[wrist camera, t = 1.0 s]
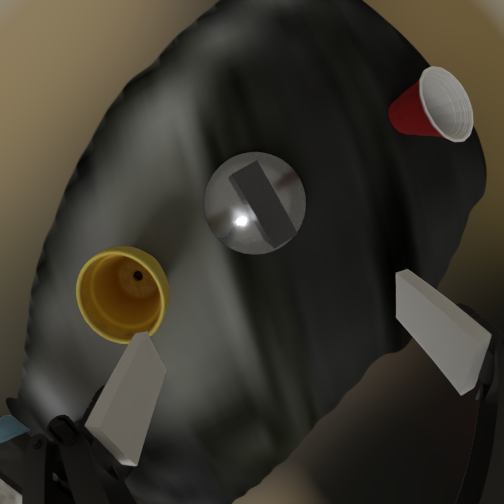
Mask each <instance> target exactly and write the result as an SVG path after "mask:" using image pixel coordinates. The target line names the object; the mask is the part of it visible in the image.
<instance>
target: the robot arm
mask: <svg viewBox="0 0 504 504" xmlns="http://www.w3.org/2000/svg"><path fill="white" fill-rule="evenodd" d="M396 318H397V319H398V320H399V322H400V323H401V324H402V325H403V326H404V327H405V328H406V329H407V331H408V332H409V333H410V334H411V335H412V336H413V337H414V339H415V340H416V341H417V342H418V343H419V344H420V345H421V347H422V348H423V349H424V350H425V351H426V353H427V354H428V355H429V356H430V357H431V359H432V360H433V361H434V362H435V363H436V365H437V366H438V367H439V368H440V370H441V371H442V372H443V373H444V374H445V375H446V377H447V378H448V379H449V381H450V382H451V383H452V384H453V386H454V387H455V388H456V389H457V391H458V392H459V393H460V395H463V394H464V393H466V392H468V391H469V390H471V389H473V388H474V387H475V384H476V382H477V379H478V377H479V378H480V379H481V380H482V385H481V387H480V389H479V392H478V394H477V397H476V400H478V398H479V396H480V399H479V408H478V416H477V422H476V429H475V434H474V439H473V445H472V449H471V454H470V458H469V462H468V466H467V469H466V473H465V476H464V480H463V483H462V486H461V489H460V492H459V495H458V498H457V501H456V504H504V332H500V331H499V330H498V329H497V328H495V327H494V326H493V325H492V324H491V323H489V322H488V321H487V320H486V319H484V318H482V317H481V316H480V315H479V314H478V313H476V311H474V310H473V309H472V308H470V307H469V306H466V305H464V304H461V303H458V304H456V305H455V304H454V303H452V302H451V301H450V300H449V299H447V298H446V297H445V296H443V295H442V294H441V293H439V292H438V291H437V290H436V289H434V288H433V287H432V286H430V285H429V284H427V283H426V282H425V281H423V280H422V279H421V278H419V277H418V276H417V275H415V274H414V273H412V272H411V271H410V270H408V269H407V270H404V271H401V272H397V273H396ZM166 372H167V369H166V368H165V366H164V364H163V362H162V360H161V358H160V356H159V354H158V352H157V350H156V348H155V346H154V344H153V342H152V340H151V338H150V336H149V334H148V332H140V333H135V335H134V336H133V338H132V340H131V341H130V343H129V345H128V346H127V348H126V350H125V352H124V353H123V355H122V357H121V359H120V360H119V362H118V364H117V366H116V367H115V369H114V371H113V373H112V375H111V376H110V378H109V380H108V382H107V384H106V386H102V387H101V388H100V389H99V390H98V391H97V392H96V393H95V395H94V397H93V399H92V402H91V403H90V404H89V406H88V407H89V408H87V410H86V412H85V414H84V416H83V417H82V419H81V421H79V422H77V423H75V424H74V422H73V421H72V420H71V419H70V418H69V417H68V416H66V415H59V416H56V417H55V418H53V419H52V420H51V421H50V422H49V424H48V426H47V432H48V434H49V435H50V436H51V437H52V438H53V439H54V441H50V440H49V439H48V438H47V437H46V436H45V435H44V434H36V435H34V434H33V433H32V432H31V431H30V429H28V428H26V427H25V426H24V425H22V424H21V423H20V422H19V421H18V420H17V419H16V418H14V417H13V416H10V415H6V416H4V417H3V418H1V419H0V504H137V503H136V501H135V500H134V498H133V496H132V495H131V493H130V491H129V489H128V488H127V486H126V484H125V480H126V479H127V477H128V476H129V475H130V473H131V472H132V470H133V469H134V468H135V466H137V464H138V461H139V457H140V454H141V450H142V447H143V444H144V440H145V437H146V434H147V431H148V427H149V424H150V421H151V418H152V415H153V411H154V408H155V405H156V402H157V399H158V396H159V393H160V390H161V387H162V384H163V381H164V378H165V375H166Z"/></svg>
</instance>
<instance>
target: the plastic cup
mask: <svg viewBox="0 0 504 504" xmlns="http://www.w3.org/2000/svg"><path fill="white" fill-rule="evenodd" d="M388 116H389V119H390V122H391V124H392V125H393V127H394V128H395V129H396V130H397V131H398V132H400V133H403V134H406V135H423V136H439V137H444V138H447V139H449V140H451V141H453V142H462V141H465V140H466V139H467V138H468V137H469V136H470V134H471V131H472V127H473V111H472V107H471V104H470V100H469V98H468V96H467V94H466V92H465V90H464V88H463V86H462V85H461V83H460V82H459V81H458V80H457V79H456V78H455V77H454V76H453V75H452V74H451V73H450V72H448V71H446V70H445V69H443V68H441V67H434V66H431V67H429V68H427V69H426V70H424V71H423V73H422V75H421V77H420V78H419V80H418V81H417V82H416V83H415V84H414V85H413V86H411V87H410V88H409V89H408V90H406V91H405V92H404V93H403V94H401V95H400V96H399V98H397V99H396V100H395V101H393V102H392V104H391V105H390V107H389V109H388Z"/></svg>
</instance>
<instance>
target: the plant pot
mask: <svg viewBox="0 0 504 504" xmlns="http://www.w3.org/2000/svg"><path fill="white" fill-rule="evenodd" d="M136 271H140V272H141V273H142V275H143V278H142V279H141V280H137V279H136V278H135V277H134V274H135V272H136ZM76 298H77V303H78V306H79V309H80V312H81V314H82V316H83V317H84V319H85V321H86V322H87V323H88V325H89V326H90V327H91V328H92V329H93V330H94V331H95V332H96V333H98V334H99V335H100V336H102V337H104V338H105V339H107V340H110V341H112V342H116V343H120V344H129V343H130V341H131V340H132V338H133V336H134V335H135V333H140V332H148V334H149V336H150V337H151V336H152V335H153V334H154V333H155V332H156V331H157V330H158V328H159V327H160V325H161V323H162V321H163V319H164V317H165V314H166V312H167V308H168V304H169V285H168V281H167V278H166V275H165V273H164V271H163V270H162V268H161V265H160V264H159V262H158V261H157V260H156V259H155V258H154V257H153V256H152V255H150V254H148V253H146V252H144V251H142V250H140V249H137V248H134V247H129V246H117V247H112V248H109V249H106V250H104V251H102V252H100V253H98V254H96V255H94V256H93V257H91V258H90V259H89V260H88V261H87V262H86V263H85V265H84V266H83V267H82V269H81V271H80V273H79V276H78V279H77V284H76Z"/></svg>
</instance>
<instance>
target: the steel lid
mask: <svg viewBox="0 0 504 504" xmlns="http://www.w3.org/2000/svg"><path fill="white" fill-rule="evenodd" d="M204 210H205V215H206V219H207V222H208V224H209V226H210V228H211V230H212V231H213V233H214V234H215V236H216V237H217V238H218V239H219V240H220V241H221V242H222V243H224V244H225V245H226V246H228V247H230V248H231V249H233V250H236V251H238V252H241V253H246V254H264V253H268V252H272V251H274V250H277V249H278V248H280V247H282V246H283V245H285V244H286V243H287V242H289V241H290V240H291V239H292V238H293V237H294V236H296V235H298V233H297V231H298V230H299V228H300V226H301V224H302V221H303V219H304V215H305V210H306V196H305V191H304V188H303V184H302V182H301V180H300V178H299V177H298V175H297V173H296V172H295V171H294V170H293V168H292V167H291V166H289V165H288V164H287V163H286V162H285V161H283V160H282V159H280V158H278V157H276V156H273V155H271V154H267V153H262V152H248V153H243V154H240V155H237V156H234V157H232V158H230V159H229V160H227V161H226V162H224V163H223V164H222V165H221V166H220V167H219V168H218V169H217V170H216V171H215V172H214V174H213V175H212V177H211V178H210V181H209V183H208V185H207V188H206V191H205V197H204Z"/></svg>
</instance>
